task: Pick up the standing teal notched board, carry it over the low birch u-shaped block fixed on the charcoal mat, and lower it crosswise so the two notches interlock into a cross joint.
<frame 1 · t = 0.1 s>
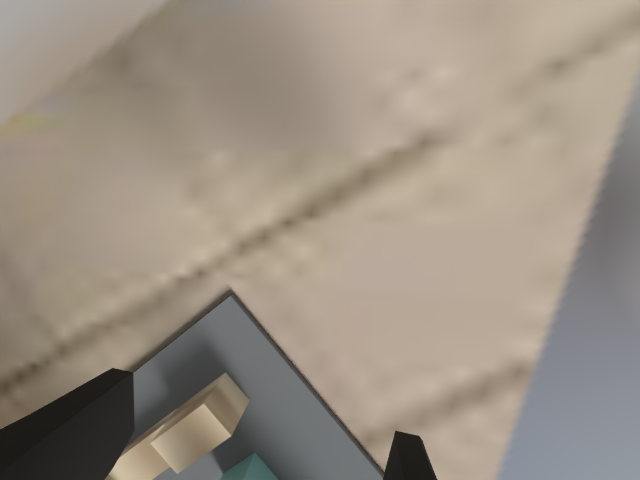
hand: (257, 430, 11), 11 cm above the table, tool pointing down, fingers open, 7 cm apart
birch u-shaped block: (159, 443, 24), resting on mat
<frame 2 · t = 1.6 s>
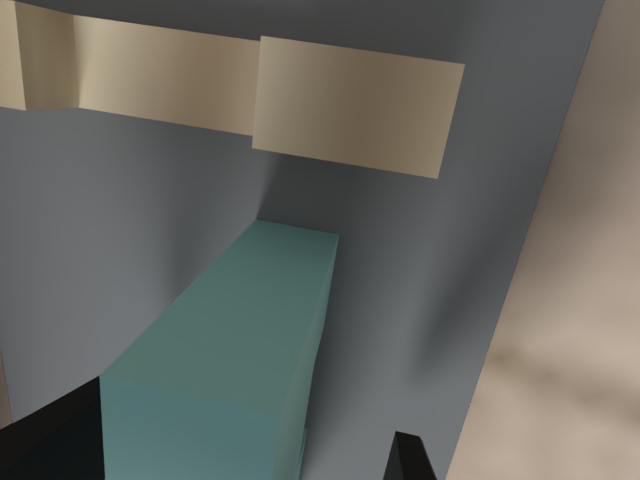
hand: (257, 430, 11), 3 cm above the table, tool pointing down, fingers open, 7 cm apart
birch u-shaped block: (199, 79, 11), resting on mat
mat: (228, 286, 13), on the table
teal board: (278, 372, 14), resting on mat
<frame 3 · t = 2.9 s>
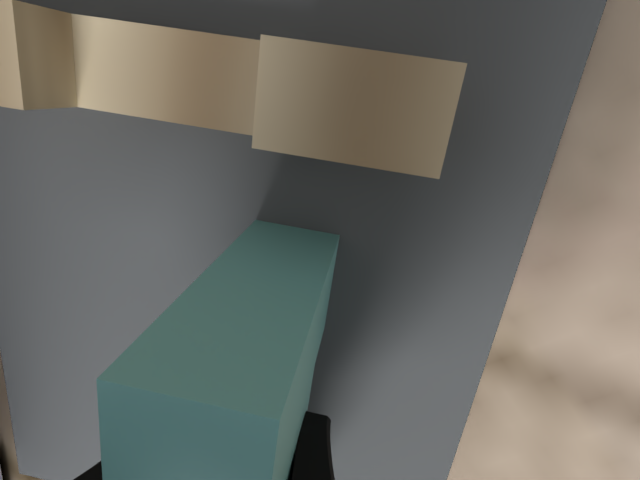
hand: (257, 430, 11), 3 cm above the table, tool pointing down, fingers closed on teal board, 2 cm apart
birch u-shaped block: (199, 78, 11), resting on mat
mat: (227, 287, 13), on the table
teal board: (278, 373, 14), resting on mat, touching gripper
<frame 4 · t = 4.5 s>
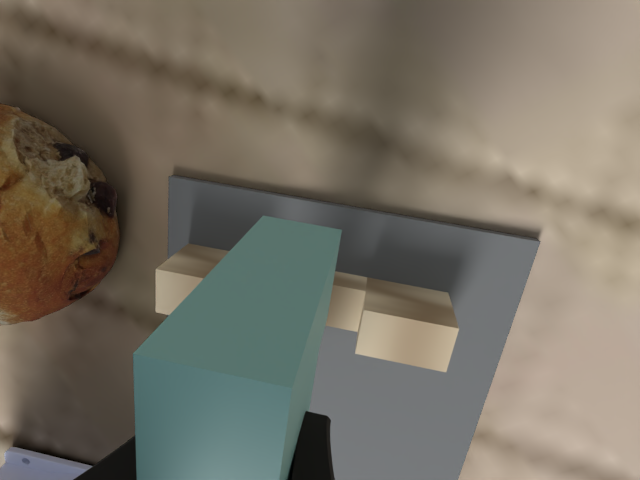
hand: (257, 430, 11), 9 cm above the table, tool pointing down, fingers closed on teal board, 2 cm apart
bread roll: (39, 205, 21), on the table
birch u-shaped block: (311, 286, 19), resting on mat
mat: (316, 390, 22), on the table
teal board: (284, 360, 14), point 6 cm above the table, touching gripper
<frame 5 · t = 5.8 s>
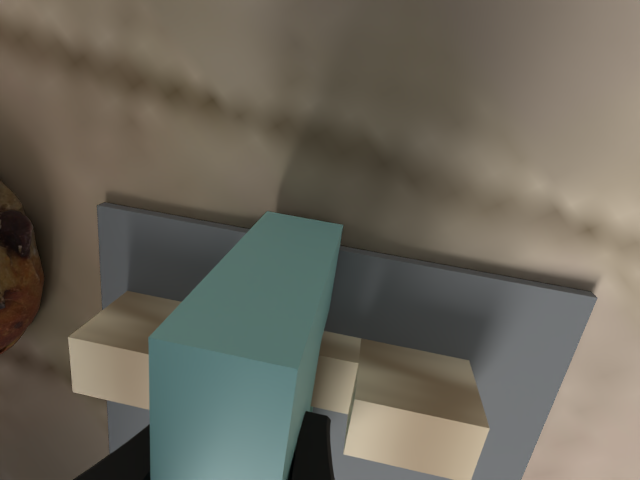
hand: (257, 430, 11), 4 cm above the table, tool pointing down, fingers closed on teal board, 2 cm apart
birch u-shaped block: (288, 348, 15), resting on mat
mat: (298, 471, 17), on the table
teal board: (287, 352, 15), resting on mat, touching gripper
when the fingers open (4 cm above the table, at t = 6.5 s): teal board stays where it is, resting on mat.
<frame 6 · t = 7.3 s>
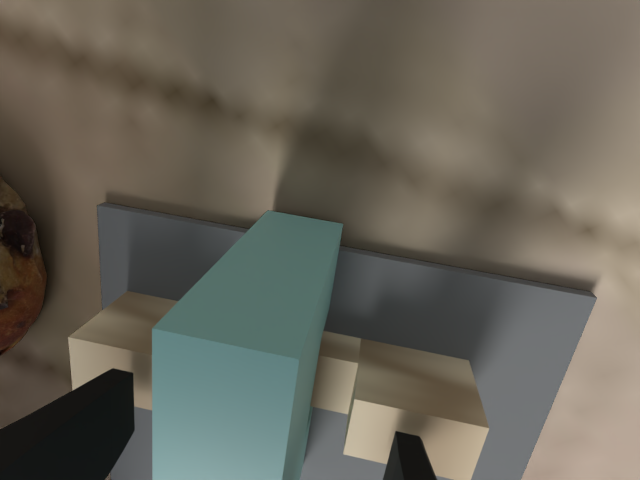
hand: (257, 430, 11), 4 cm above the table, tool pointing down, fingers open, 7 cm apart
birch u-shaped block: (288, 348, 15), resting on mat
mat: (298, 471, 17), on the table
teal board: (287, 351, 15), resting on mat
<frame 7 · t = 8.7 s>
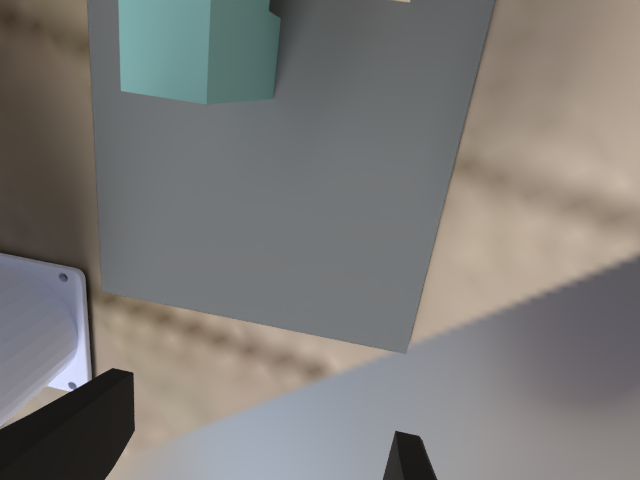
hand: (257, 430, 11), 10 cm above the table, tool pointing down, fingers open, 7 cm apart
mat: (269, 119, 18), on the table
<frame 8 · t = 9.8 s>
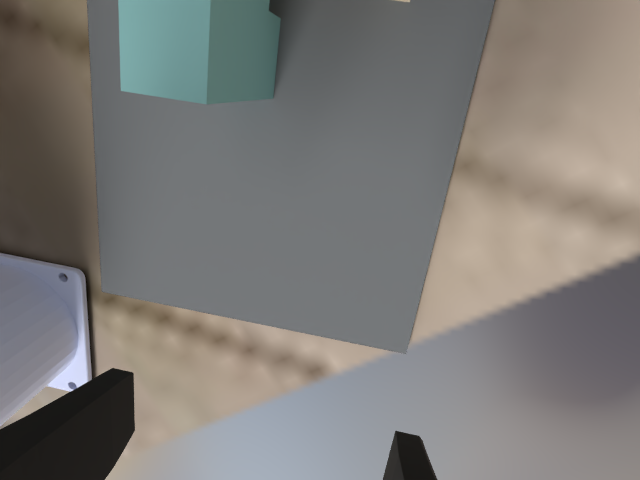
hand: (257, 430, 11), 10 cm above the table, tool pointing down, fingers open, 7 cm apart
mat: (269, 119, 18), on the table
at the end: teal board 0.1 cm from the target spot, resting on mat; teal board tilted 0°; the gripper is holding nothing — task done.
